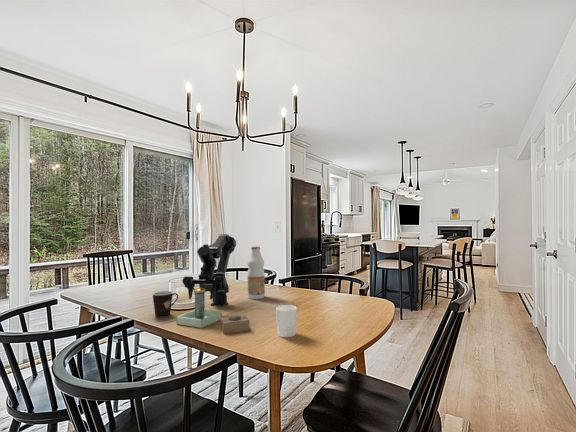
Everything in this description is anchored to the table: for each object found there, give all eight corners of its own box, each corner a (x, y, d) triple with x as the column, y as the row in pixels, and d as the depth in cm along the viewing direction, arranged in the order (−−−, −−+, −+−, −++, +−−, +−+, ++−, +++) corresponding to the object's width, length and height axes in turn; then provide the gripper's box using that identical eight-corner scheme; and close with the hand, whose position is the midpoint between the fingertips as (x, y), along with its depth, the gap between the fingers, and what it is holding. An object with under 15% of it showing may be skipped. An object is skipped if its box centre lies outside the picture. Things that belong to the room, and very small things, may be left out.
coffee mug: (153, 319, 145) (153, 296, 145) (151, 314, 153) (151, 292, 153) (181, 315, 151) (180, 293, 151) (177, 310, 158) (177, 289, 158)
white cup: (275, 331, 127) (275, 305, 128) (295, 330, 128) (295, 304, 128) (276, 338, 120) (276, 311, 120) (298, 337, 120) (297, 310, 120)
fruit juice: (248, 300, 177) (248, 247, 177) (246, 296, 186) (246, 246, 186) (266, 298, 179) (265, 247, 179) (263, 295, 188) (262, 245, 188)
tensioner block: (220, 327, 132) (220, 315, 132) (245, 324, 136) (245, 313, 136) (223, 333, 125) (223, 320, 126) (249, 330, 129) (249, 317, 129)
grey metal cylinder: (192, 319, 141) (191, 289, 141) (202, 317, 145) (202, 287, 144) (196, 322, 138) (196, 291, 138) (207, 319, 141) (207, 289, 141)
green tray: (176, 323, 138) (176, 316, 138) (197, 315, 150) (197, 308, 150) (201, 327, 132) (201, 320, 132) (221, 318, 144) (221, 311, 144)
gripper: (231, 279, 158) (225, 308, 147) (193, 278, 159) (184, 308, 149) (226, 265, 150) (219, 295, 139) (186, 265, 152) (177, 295, 141)
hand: (200, 299), depth 142 cm, fingers open, 9 cm apart
